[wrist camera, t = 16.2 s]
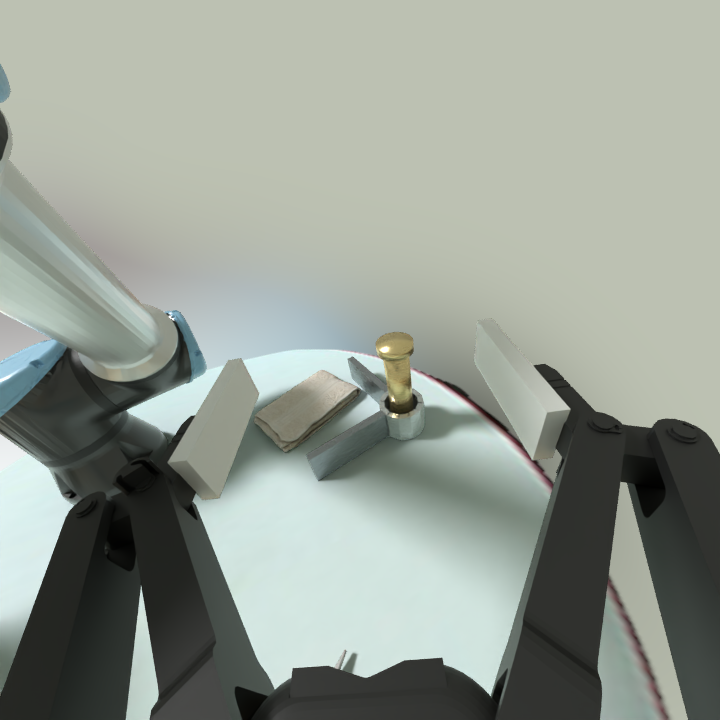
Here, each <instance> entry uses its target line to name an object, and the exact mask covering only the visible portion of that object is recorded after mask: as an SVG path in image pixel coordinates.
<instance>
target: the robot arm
mask: <svg viewBox="0 0 720 720" xmlns="http://www.w3.org/2000/svg"><path fill="white" fill-rule="evenodd" d="M9 94H10V86H9V82H8V79H7V77H6V74H5V72H4V70H3V68H2V66H1V64H0V103H1V102H4V101H5V100H6V99H7V98H8V97H9ZM11 149H12V133H11V129H10V126H9V123H8V121H7V119H6V117H5V115H4V114H3V112H2V111H1V110H0V312H1V313H3V314H5V315H7V316H9V317H11V318H13V319H15V320H16V321H19V322H21V323H22V324H24V325H26V326H28V327H30V328H32V329H34V330H36V331H38V332H40V333H42V334H44V335H46V336H48V337H50V338H52V339H51V340H49V341H43V342H40V343H37V344H35V345H32V346H30V347H28V348H26V349H24V350H21V351H19V352H17V353H16V354H14V355H12V356H10V357H8V358H6V359H4V360H3V361H1V362H0V434H1V435H3V436H4V437H5V438H7V439H8V440H10V441H11V442H13V443H14V444H16V445H17V446H18V447H20V448H21V449H23V450H24V451H25V452H27V453H28V454H30V455H31V456H32V457H34V458H35V459H37V460H38V461H40V462H41V463H42V464H44V465H45V466H46V467H48V468H49V470H50V472H51V474H52V476H53V478H54V480H55V482H56V484H57V486H58V488H59V490H60V492H61V494H62V496H63V497H64V498H65V499H66V500H67V501H68V502H70V503H71V504H73V505H74V507H73V508H72V509H71V510H70V511H69V513H68V515H67V516H66V518H65V521H64V524H63V527H62V529H61V532H60V535H59V538H58V540H57V543H56V546H55V548H54V551H53V554H52V557H51V559H50V562H49V565H48V568H47V570H46V573H45V576H44V579H43V581H42V584H41V587H40V589H39V592H38V595H37V598H36V600H35V603H34V606H33V609H32V611H31V614H30V617H29V620H28V622H27V625H26V628H25V630H24V633H23V636H22V639H21V641H20V644H19V647H18V650H17V652H16V655H15V658H14V660H13V663H12V666H11V669H10V671H9V674H8V677H7V680H6V682H5V685H4V688H3V691H2V693H1V696H0V720H126V711H127V703H128V694H129V685H130V676H131V667H132V659H133V650H134V641H135V632H136V624H137V615H138V606H139V597H140V589H141V586H142V592H143V598H144V604H145V610H146V616H147V622H148V628H149V635H150V641H151V647H152V653H153V659H154V665H155V671H156V677H157V683H158V690H159V697H158V701H157V702H156V704H155V705H154V707H153V708H152V710H151V715H150V720H600V713H601V701H602V686H601V680H600V677H599V674H598V667H597V666H598V655H599V647H600V639H601V631H602V623H603V615H604V607H605V599H606V591H607V583H608V575H609V566H610V559H611V551H612V542H613V535H614V527H615V519H616V511H617V504H618V496H619V488H620V482H626V483H627V485H628V488H629V493H630V496H631V500H632V504H633V508H634V512H635V515H636V519H637V523H638V527H639V531H640V535H641V539H642V542H643V547H644V551H645V554H646V558H647V562H648V566H649V570H650V574H651V578H652V581H653V585H654V589H655V593H656V597H657V601H658V604H659V609H660V612H661V616H662V620H663V624H664V628H665V632H666V636H667V639H668V643H669V647H670V651H671V655H672V659H673V662H674V667H675V670H676V674H677V678H678V682H679V686H680V690H681V693H682V697H683V701H684V705H685V709H686V713H687V717H688V720H720V454H719V452H718V450H717V448H716V447H715V445H714V443H713V441H712V439H711V438H710V437H709V436H708V435H707V434H706V433H705V432H704V431H703V430H701V429H700V428H698V427H696V426H694V425H692V424H689V423H687V422H684V421H680V420H677V419H661V420H658V421H657V422H656V423H655V424H654V426H653V427H652V428H646V427H637V426H628V425H622V423H621V422H619V421H618V420H617V419H615V418H614V417H612V416H609V415H607V414H605V413H600V412H596V411H594V409H593V408H592V407H591V406H590V405H589V404H588V403H587V402H586V401H585V400H584V399H583V398H582V397H581V396H580V395H579V394H578V393H577V392H576V391H575V390H574V388H573V387H571V386H570V384H569V383H568V382H567V381H566V380H564V378H563V377H562V376H561V375H560V374H559V373H558V372H557V371H556V370H555V369H553V368H551V367H549V366H548V365H546V364H540V365H534V366H533V365H532V364H531V363H530V362H529V360H528V359H527V358H526V357H525V356H524V355H523V354H522V352H521V351H520V350H519V349H518V348H517V347H516V345H515V344H514V343H513V342H512V341H511V340H510V338H509V337H508V336H507V335H506V334H505V333H504V332H503V330H502V329H501V328H500V327H499V326H498V324H497V323H496V322H495V321H494V320H493V319H492V318H490V319H484V320H478V321H477V331H476V343H475V356H474V363H475V364H476V366H477V368H478V369H479V371H480V373H481V374H482V376H483V378H484V379H485V381H486V383H487V384H488V386H489V388H490V390H491V391H492V393H493V395H494V396H495V398H496V400H497V401H498V403H499V405H500V406H501V408H502V410H503V411H504V413H505V415H506V417H507V418H508V420H509V422H510V423H511V424H512V427H513V428H514V430H515V431H516V433H517V435H518V437H519V438H520V440H521V442H522V443H523V445H524V447H525V449H526V450H527V452H528V454H529V455H530V457H531V459H532V460H540V459H548V458H553V455H554V453H555V450H556V449H557V450H558V452H559V453H560V455H561V456H562V460H561V462H560V465H559V467H558V469H557V472H556V473H557V476H556V479H555V482H554V486H553V489H552V493H551V496H550V500H549V503H548V506H547V510H546V513H545V517H544V520H543V524H542V527H541V530H540V534H539V537H538V541H537V544H536V548H535V551H534V554H533V558H532V561H531V565H530V568H529V572H528V575H527V578H526V582H525V585H524V589H523V592H522V596H521V599H520V603H519V606H518V609H517V613H516V616H515V620H514V623H513V627H512V630H511V633H510V637H509V640H508V643H507V646H506V649H505V652H504V655H503V658H502V661H501V664H500V667H499V670H498V673H497V677H496V680H495V684H494V687H493V690H492V694H491V696H490V695H489V694H488V693H487V692H486V691H485V690H484V689H483V688H482V687H481V686H480V685H479V684H477V683H476V682H475V681H474V680H473V679H471V678H470V677H468V676H467V675H465V674H464V673H462V672H460V671H458V670H456V669H454V668H452V667H449V666H446V665H444V664H443V659H442V658H433V659H419V660H405V661H402V662H400V663H398V664H396V665H394V666H392V667H390V668H388V669H386V670H384V671H381V672H379V673H377V674H375V675H373V676H371V677H368V678H363V677H360V676H357V675H354V674H351V673H348V672H345V671H342V670H339V669H336V668H333V667H330V666H319V667H305V668H293V671H292V678H290V679H289V680H287V681H286V682H284V683H283V684H281V685H280V686H279V687H278V688H276V689H274V687H273V685H272V683H271V681H270V679H269V677H268V675H267V673H266V672H265V671H264V669H263V668H262V666H261V665H260V664H259V662H258V660H257V658H256V656H255V653H254V651H253V648H252V646H251V643H250V641H249V638H248V636H247V633H246V630H245V628H244V625H243V623H242V620H241V618H240V615H239V613H238V610H237V608H236V605H235V603H234V600H233V598H232V595H231V593H230V590H229V588H228V585H227V582H226V580H225V577H224V575H223V572H222V570H221V567H220V565H219V562H218V560H217V557H216V555H215V552H214V550H213V547H212V545H211V542H210V540H209V537H208V534H207V532H206V529H205V527H204V524H203V522H202V519H201V517H200V514H199V512H198V509H197V507H196V505H195V504H194V503H193V498H194V496H195V494H196V493H197V495H198V496H199V497H200V498H201V499H202V500H208V499H216V498H220V495H221V493H222V490H223V488H224V485H225V482H226V480H227V477H228V475H229V472H230V469H231V467H232V464H233V461H234V459H235V456H236V454H237V451H238V448H239V446H240V443H241V441H242V438H243V435H244V433H245V430H246V427H247V425H248V422H249V420H250V417H251V414H252V412H253V409H254V406H255V404H256V401H257V399H258V396H259V392H258V390H257V388H256V386H255V384H254V382H253V380H252V378H251V376H250V375H249V373H248V371H247V369H246V367H245V365H244V363H243V361H242V359H241V358H240V359H234V360H228V362H227V363H226V365H225V367H224V368H223V370H222V372H221V373H220V375H219V377H218V379H217V380H216V382H215V384H214V385H213V387H212V389H211V390H210V392H209V394H208V395H207V397H206V399H205V400H204V402H203V404H202V405H201V407H200V409H199V410H198V412H197V414H196V415H194V416H190V417H189V418H188V419H187V420H186V421H185V422H184V423H183V424H182V425H181V427H180V428H179V430H178V431H177V433H176V435H175V436H174V438H173V439H172V443H170V444H169V446H168V441H167V438H166V437H165V435H164V434H163V433H162V432H161V431H160V430H159V429H158V428H157V427H155V426H153V425H151V424H149V423H147V422H145V421H143V420H141V419H139V418H137V417H135V416H133V415H131V414H129V413H128V412H127V411H126V410H127V409H129V408H132V407H134V406H136V405H138V404H141V403H143V402H145V401H147V400H149V399H152V398H154V397H156V396H158V395H161V394H163V393H165V392H167V391H169V390H172V389H174V388H176V387H178V386H180V385H183V384H185V383H190V382H192V381H193V379H195V378H197V377H199V376H201V375H203V374H204V373H205V372H206V369H207V366H206V362H205V359H204V357H203V355H202V353H201V351H200V349H199V347H198V344H197V342H196V340H195V337H194V335H193V333H192V331H191V330H190V328H189V326H188V324H187V322H186V320H185V318H184V317H183V315H182V314H181V313H180V312H179V311H177V310H173V311H165V312H163V311H161V310H160V309H157V308H155V307H153V306H150V305H146V304H141V303H140V302H139V301H138V300H137V298H136V297H135V296H134V295H133V294H132V293H131V292H130V291H129V290H128V289H127V288H126V286H125V285H124V284H123V283H122V282H121V281H120V280H119V279H118V278H117V277H116V276H115V274H114V273H113V272H112V271H111V270H110V269H109V268H108V267H107V266H106V265H105V264H104V263H103V262H102V260H101V259H100V258H99V257H98V256H97V255H96V254H95V253H94V252H93V251H92V250H91V248H90V247H89V246H88V245H87V244H86V243H85V242H84V241H83V240H82V239H81V238H80V237H79V236H78V234H77V233H76V232H75V231H74V230H73V229H72V228H71V227H70V226H69V225H68V224H67V222H66V221H65V220H64V219H63V218H62V217H61V216H60V215H59V214H58V213H57V212H56V210H55V209H54V208H53V207H52V206H51V205H50V204H49V203H48V202H47V201H46V200H45V199H44V198H43V196H42V195H41V194H40V193H39V192H38V191H37V190H36V189H35V188H34V187H33V186H32V184H31V183H30V182H29V181H28V180H27V179H26V178H25V177H24V176H23V175H22V174H21V173H20V171H19V170H18V169H17V168H16V167H15V166H14V165H13V164H12V163H11V162H10V161H9V160H8V159H9V156H10V154H11Z"/></svg>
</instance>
